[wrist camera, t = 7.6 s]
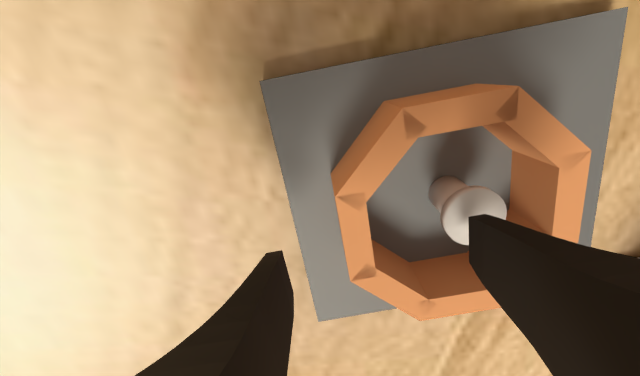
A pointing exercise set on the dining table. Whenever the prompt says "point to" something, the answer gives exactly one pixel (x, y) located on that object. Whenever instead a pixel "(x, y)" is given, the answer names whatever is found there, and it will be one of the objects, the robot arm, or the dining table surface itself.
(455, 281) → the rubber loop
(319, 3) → the dining table surface
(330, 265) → the hook board
